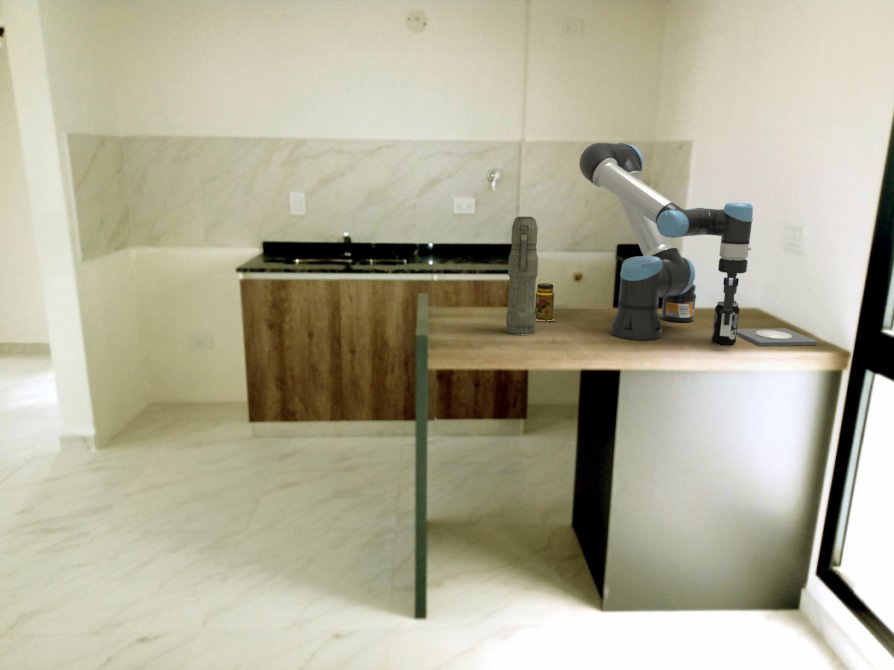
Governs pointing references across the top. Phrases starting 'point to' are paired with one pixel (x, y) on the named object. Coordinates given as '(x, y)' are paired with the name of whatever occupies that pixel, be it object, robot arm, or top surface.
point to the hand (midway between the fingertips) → (725, 330)
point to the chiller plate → (774, 337)
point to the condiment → (544, 302)
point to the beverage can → (717, 325)
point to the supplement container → (679, 306)
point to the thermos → (522, 276)
